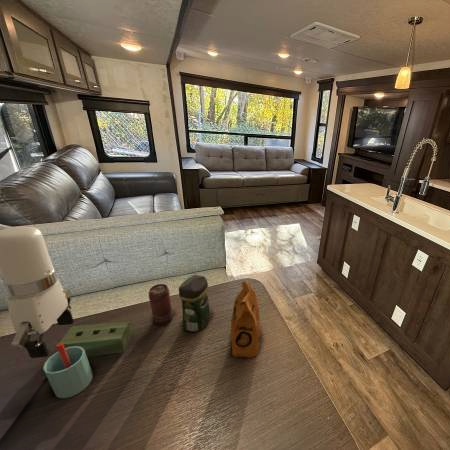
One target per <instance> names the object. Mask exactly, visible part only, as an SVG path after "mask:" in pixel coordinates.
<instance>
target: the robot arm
mask: <svg viewBox="0 0 450 450" xmlns="http://www.w3.org/2000/svg"><path fill="white" fill-rule="evenodd" d="M0 277H1V279H2V282H3V283H4V284H3V285H4V286H5V289H6V290H7V293H8V296H9V297H8V298H7V309H8V313H9V318H10V321H11V324H12V327H13V330H14V332H15V336H14V337H13V340H12V341H11V346H12V347H15V348H16V349H26V351H27V353H28V355H29V357H30V359H38V358H47V357H48V356H49V355H50V351H49V349H48V346H47V344H46V342H45V341H43V338H44V333H46V332H47V331H48V330H49V329H50V328H51V327H52V326H53V325H54V323H55V322H57V324H58V326H68V325H69V326H70V325H73V324H74V323H75V320H74V317H73V314H72V311H71V309H72V306H71V305H70V304H71V301H72V299H71V289H64V288H63V286H62V283H61V282H60V280H59V279H58V277H57V273H56V271H55V268H54V266H53V262H52V259H51V257H50V253H49V250H48V247H47V244H46V241H45V239H44V235H43V233H42V231H41V230H39V228H37V227H34V226H30V225H29V226H26V225H24V226H23V225H21V226H11V225H7V224H6V225H5V224H1V223H0ZM32 330H33V331H32ZM32 335H36V337H35V340H31V338H32Z"/></svg>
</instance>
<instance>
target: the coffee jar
mask: <svg viewBox="0 0 450 450" xmlns="http://www.w3.org/2000/svg"><path fill="white" fill-rule="evenodd" d="M208 291H209V283H208V279H207V278H206V277H205V276H203V275H199V274H193V275H191V276H189V277H188V278H187V279H185V280H184V281H183V282H182V283H181V284H180V285H179V287H178V297H179V298H180V300H181V308H182V323H183V324H182V325H183V328H184V330H185V331H188V332H199V331H202V330H203V329H204V328H205V327H206V326H207V324H208V323H209V321H210V319H211V317H212V316H211V308H210V301H209V293H208Z"/></svg>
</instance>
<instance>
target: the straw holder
mask: <svg viewBox="0 0 450 450" xmlns="http://www.w3.org/2000/svg"><path fill="white" fill-rule="evenodd" d="M131 326H132V325H131V322H130V320H127V321H117V322H116V321H115V322H105V323H95V324H83V325H74V326H73V325H72V326H71V327H70V328H69V330H68V331H67V333H65V335H64V336H63V337H62V339H61V340H60V341H59V343H63V345H64V348H68V347H74V346H78V347H82V348H83V349H84V350H85V353H86V356H87V358H88V357H96V356H104V355H113V354H120V353H125V352H126V349H127V348H128V345H129V344H130V341H131V339H132V336H133V335H134V334H133V330H132V327H131Z"/></svg>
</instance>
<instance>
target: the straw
mask: <svg viewBox="0 0 450 450" xmlns="http://www.w3.org/2000/svg"><path fill="white" fill-rule="evenodd" d="M55 348H56V349H57V352H59V354H60V356H61V359H62V361H63V364H64V366H65V369H67V368H69V367H70V366H72V365H71V363H70V360H69V358H68V355H67V353H66V350H65V348H64V345H63V343H60V342H58V343H57V344H56V347H55Z"/></svg>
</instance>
